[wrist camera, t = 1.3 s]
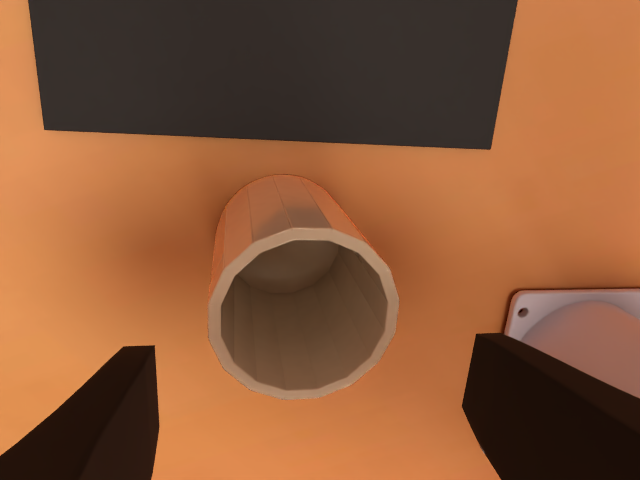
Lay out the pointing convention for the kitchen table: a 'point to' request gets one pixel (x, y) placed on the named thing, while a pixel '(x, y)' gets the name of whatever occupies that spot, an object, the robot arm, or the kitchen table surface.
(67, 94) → the placemat
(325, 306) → the cream cup
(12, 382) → the kitchen table surface
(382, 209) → the kitchen table surface
